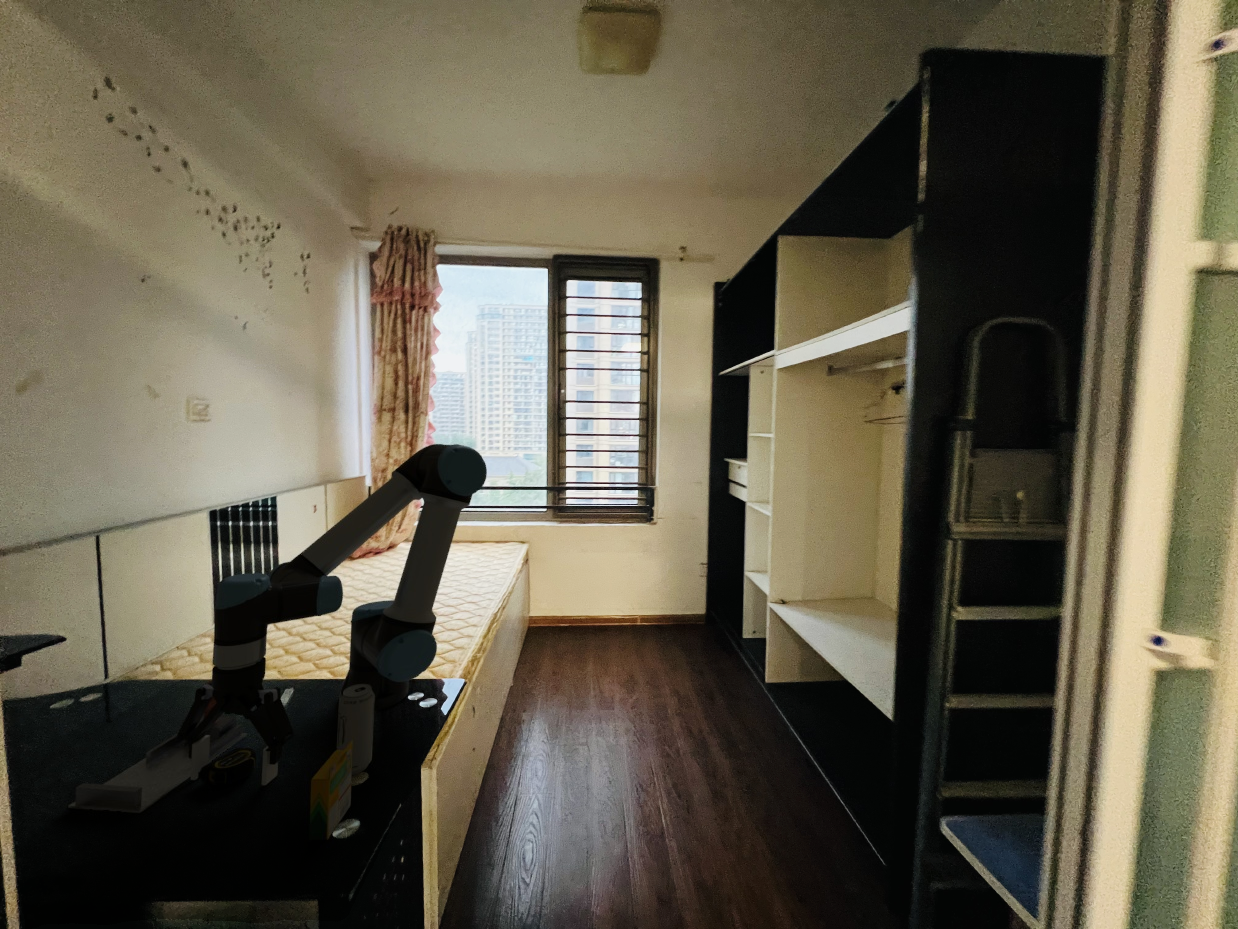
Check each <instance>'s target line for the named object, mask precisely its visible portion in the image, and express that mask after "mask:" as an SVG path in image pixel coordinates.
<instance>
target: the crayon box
mask: <svg viewBox="0 0 1238 929" xmlns="http://www.w3.org/2000/svg"><path fill="white" fill-rule="evenodd" d="M352 748H353V740H352V741H351V742H350V743H349V744H348V746H347V747H346V748H345V749H344V750H337V749H336V750H335V751H334V752H333V753H331V755H330V757H329V758H328V759H327V760H326V761H325V763H324V764H322V766H321V767H320V769H318V771H317V772H316V774H314V776H313V777H312V778H311V781H310V800H309V801H310V806H309V807H310V810H309V836H308V838H309V841H328V840H329V839H330V837H331V836H332V834H333V832H334V831H335V829H336V828H337V826H338V825H339V823H340V822H341V820H342V819H343V818H344V816H345V815H346V813H347V811H348V810H349V808H350V807H351V801H352V800H351V799H352V775H351V770H352Z"/></svg>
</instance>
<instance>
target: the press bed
mask: <svg viewBox="0 0 1238 929" xmlns="http://www.w3.org/2000/svg"><path fill="white" fill-rule="evenodd" d="M177 734H178V732H177V733H176V734H173V735H171V736H170V737H169V738H167V739H166V740H164V741H162V742H160V743H159V744H158V745H156V746H154V747H152V748H151V749H149V750H147V751H146V754H145V756H146V757H145V758H143V759H141V760H140V761H138V762H136V763H135V764H133V765H132V766H130V767H129V768H127V769H125V770H123V771H122V772H120V773H119V774H117V775H115V776H114V777H112V778H111V779H109V780H107V781H106V782H104V783H103V784H101V783H100V784H99V783H86V782H84V783H83V782H82V783H81V784H80V785H78V786H76V787H75V801H74V802H72V803H71V804H69V805H68V808H69V809H77V810H78V809H79V810H89V811H90V809H92V810H91V811H103V810H109V811H108V812H116V811H121V812H120V813H131V814H132V813H133V814H141V813H143V812H144V811H146V810H147V809H148V808H150V807H151V806H152V805H153V804H155V803H156V802H158V801H159V800H160V799H162V798H163V797H164V796H166V795H167V794H168V793H170V792H171V791H172V790H174V789H176V787H179V785H181V784H182V783H183V782H185V781H187V780H188V779H189V778H191V760H192V759H190V758H189V742H188V741H184V739H185V738H182V739H179V738H178V737H177ZM247 736H248V733H247V732H246V733H245V732H243V724H236V727H234V728H233V729H231V730H230V731H228V732H227V733H225V734H224V735H222V736H221V737H219V738H218V739H216V740H215V741H214V742H212V743H210V748H209V763H210V762H212V760H213V761H214V760H216V759H217V758H219V757H220V756H221V755H223V752H224V753H225V752H226V751H228V750H229V749H230V748H232V747H233V746H235V745H236V744H237V743H239V742H241V740H243V739H244V738H246V737H247ZM227 749H228V750H227ZM220 754H221V755H220ZM216 757H217V758H216Z"/></svg>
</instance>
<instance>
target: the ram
mask: <svg viewBox="0 0 1238 929" xmlns="http://www.w3.org/2000/svg"><path fill="white" fill-rule="evenodd" d="M210 682H212V680H209V681H207V682H205V684H204V685H206V684H208V683H210ZM215 704H216V701H215V699H214V697H213V696H212V699H211V701H210V703H209V705H208V707H207V709H206V711H205V713H204V715H203V717H202V719H201V720H200V722H199V724H200V723H201V722H202V721H203V719H204V718H205V717H206V716H207V715H208V714H209V711H210V710H211V709H212V708H213V707H214V705H215ZM199 724H198V725H199ZM236 726H237V716H228V715H227V716H225V715H221V716H220V717H219V718H218V720H217V721H216V722H215V723H214V724H213V725H212V726H211V728H210V729H209V730H208V731H209V732H208V731H207V733H206V734H204V735H203V737H204V736H205V735H210V743H212V742H214V741H215V740H216V739H218V738H219V737H221V736H222V735H224V734H225V733H227V732H228V731H230V730H231V729H233V728H234V727H236ZM184 741H187V739H186V738H185V739H184Z"/></svg>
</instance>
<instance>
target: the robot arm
mask: <svg viewBox="0 0 1238 929" xmlns="http://www.w3.org/2000/svg"><path fill="white" fill-rule="evenodd" d="M487 470H488V469H487V464H486V461H485V460H484V458H483V457H482V454H480V453H479V451H477V450H476V449H474V448H472V447H470V446H466V445H464V444H457V443H456V444H454V443H453V444H443V443H434V444H433V443H432V444H430V445H427V446H424V447H422V448H421V449H420V450H417V451H416V452H415V453H414V454H413V455H411V456H410V457H409V458H408V459H406V460H405V461H404V462H402V463H401V464H400V465H399V466H398V467H396V468H395V469H393V471H392V472H391V475H390V476H391V477H390V479H389V480H387V481H386V482H385V483H384V484H382V485H381V486H380V487H379V488H378V489H376V490H375V491H374V492H373V493H372V494H371V495H369V496H368V497H367V498H366V499H364V500H363V501H362V502H361V503H359V505H357V506H356V507H355V508H354V509H352V510H351V511H349V513H348V514H346V515H345V516H344V517H343V518H341V520H339V521H337V523H335V524H334V525H333V526H332V527H331V528H329V529H328V530H327V531H325V532H324V534H322V535H321V536H319V537H318V538H317V539H316V540H315V541H314V542H312V543H311V544H310V545H309V546H308V547H306V548H305V549H304V550H303V551H302V552H300V553H299V554H298V555H297V556H295V557H294V558H292V559H291V560H290V561H287V562H282V563H279V564H277V565H276V566H274V567H273V569H271V570H270V572H269V574H266V573H260V572H253V573H247V572H246V573H240V574H234V575H230V576H227V577H225V578H223V579H222V580H220V581H219V583H218V584H217V587H216V595H215V596H216V597H215V603H214V622H213V623H214V628H213V629H214V631H213V634H214V635H213V646H212V647H213V648H212V650H213V651H212V665H214V666H213V667H212V669H211V671H212V673H211V681H212V682H210V683H208V684H206V683H205V684H206V685H205V684H204V685H203V686H201V687H199V688H196V690H195V694H194V695H195V696H194V701H193V703H192V705H191V707H190V709H189V711H188V712H187V715H186V717H185V719H184V720H183V723H182V725H181V726H180V729H179V731H178V732H177V733H178V734H177V733H176V734H177V737H178V738H179V739H182V738H186V739H187V741H188V742H189V758H190V759H192V760H191V776H190V780H191V781H196V780H197V779H198V775H199V774H198V772H200V771H201V768H202V767H204V766H205V765H207V764H209V748H210V735H205V736H204V737H203V735H204V734H206V733H207V731H208V730H209V729H210V728H211V726H212V725H213V724H214V723H215V722H216V721H217V720H218V718H219V717H220V716H223V714H225V715H232V714H233V715H234V714H235V715H236V716H238V715H239V716H242V717H244V719H245V720H249V721H250V723H251V724H252V726H253V727H254V729H255V730H256V731H257V733H258V734H259V736H260V737H261V739H262V740H263V741H264V743H265V744H266V746H265V747H264V748H263V749H262V766H261V767H262V770H261V772H262V773H261V786H267V785H268V784H269V783H270V782H271V781H273V780H274V779H275V778H276V777H277V776H278V770H279V767H278V766H279V762H280V761H281V760H282V758H283V746H285V745H286V744H287V743H289V741H290V740H291V739H293V738H294V736H295V732H294V730H293V727H292V726H293V725H291V721H290V719H289V717H288V713H287V711H286V709H285V706H284V703H283V702H282V697H281V695H282V694H281V693H282V692H281V688H280V687H279V686H275V687H274V688H272V689H264V687H263V682H264V679H265V676H266V663H267V662H266V661H267V660H266V657H265V656H266V654H267V638H268V637H267V636H268V625H272V624H273V625H274V624H279V623H285V622H290V621H296V620H301V619H308V618H314V617H322V616H325V615H329V614H333V613H336V612H338V610H340V609H341V607H342V604H343V598H344V589H343V583H342V581H341V578H340V577H339V576H337V575H330V574H331V573H332V572H333V571H334V570H336V569H337V568H338V567H339V566H340V565H341V564H342V563H344V562H345V560H347V559H348V558H349V557H350V556H351V555H352V554H354V553H355V552H356V551H357V550H358V549H360V547H362V546H363V545H364V544H365V543H366V542H367V541H369V540H370V539H371V538H373V536H374V535H375V534H377V533H378V532H379V531H380V530H381V529H382V528H383V527H384V526H386V525H387V524H388V523H389V522H390V521H392V519H394V518H395V517H396V516H397V515H398V514H399V513H401V511H403V510H404V509H405V508H406V507H407V506H408V505H410V504H411V503H412V502H413V501H420V500H421V499H422V500H423V504H422V508H421V512H420V514H419V517H418V521H417V524H416V528H415V531H414V534H413V537H412V541H411V544H410V547H409V551H408V553H407V557H406V560H405V564H404V566H403V570H402V573H401V577H400V580H399V583H398V586H397V591H396V592H395V593H396V594H395V595H394V599H392V600H391V599H389V600H378V601H373V602H367V603H363V604H361V605H358V606H356V607H355V608H354V609H353V611H352V613H351V619H350V625H351V626H350V642H349V643H350V645H349V650H350V651H349V668H348V671H347V673H346V676H345V679H344V680H343V684H342V686H341V689H340V692H339V700H340V699H341V697H342V695H343V691H344V690H345V689H346V688H348V687H350V686H353V685H357V684H368V685H370V686H371V687H372V691H373V693H374V694H375V703H374V712H376V711H380V710H383V709H387V708H389V707H392V706H394V705H396V704H398V703H401V701H402V700H403V699H405V698H406V697H407V695H408V693H409V686H410V684H409V682H410V681H411V680H413V679H416V678H417V677H418V676H420V675H421V674H422V673H424V672H426V670H428V669H429V667H430V666H431V665H432V663H433V661H434V659H435V657H436V655H437V649H438V644H437V640H436V638H435V635H433V632H434V629H435V626H436V623H437V616H436V614H435V613H434V612H433V607H434V604H435V601H436V596H437V594H438V591H439V587H440V583H441V581H442V577H443V574H444V570H445V568H446V563H447V560H448V556H449V553H450V549H451V547H452V544H453V539H454V536H455V533H456V528H457V526H458V521H459V518H460V515H461V512H462V510H464V509H465V508H467V507H469V506H470V504H471V500H472V497H473V495H474V494H476V493H477V492H478V491H480V490H481V489H482V487H483V486H484V485H485V482H486V479H487V476H488V475H487V474H488V473H487ZM212 696H213V697H214V699H215V701H216V704H215V705H214V707H213V708H212V709H211V710H210V711H209V714H208V715H207V716H206V717H205V718H204V719H203V721H202V722H201V723H200V724H199V722H200V720H201V719H202V717H203V715H204V713H205V711H206V709H207V707H208V705H209V703H210V701H211V699H212ZM339 700H338V701H339ZM255 706H256V708H255V709H254V710H253V708H254V707H255ZM198 724H199V725H198ZM208 732H209V731H208Z"/></svg>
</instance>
